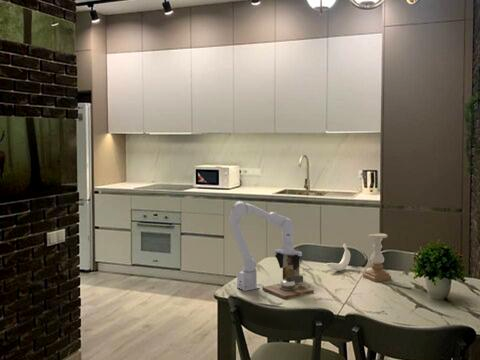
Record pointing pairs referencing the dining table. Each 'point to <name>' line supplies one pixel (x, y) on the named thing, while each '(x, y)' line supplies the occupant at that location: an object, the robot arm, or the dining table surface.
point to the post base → (287, 291)
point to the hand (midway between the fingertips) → (288, 268)
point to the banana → (343, 263)
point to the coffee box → (289, 266)
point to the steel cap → (291, 281)
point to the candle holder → (377, 260)
